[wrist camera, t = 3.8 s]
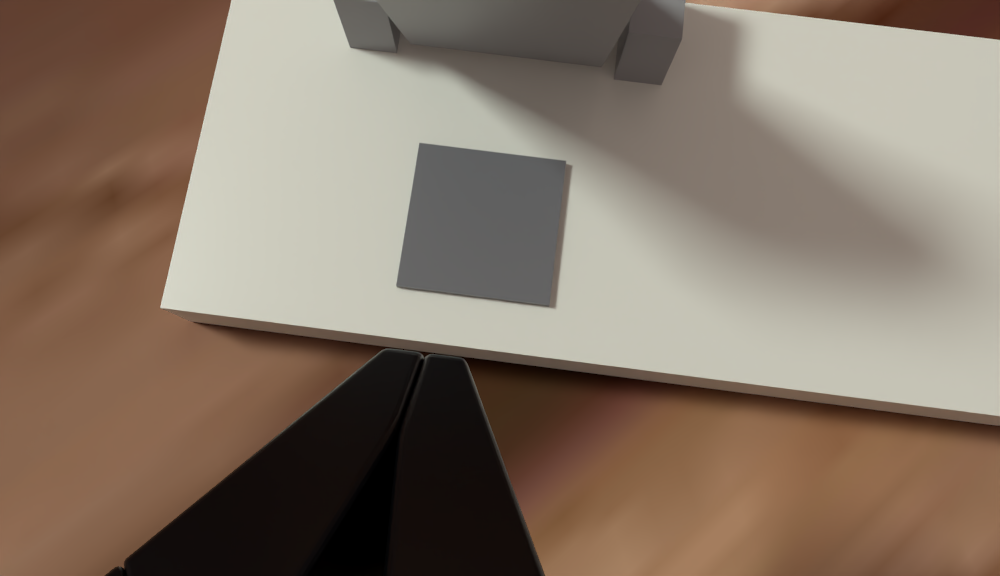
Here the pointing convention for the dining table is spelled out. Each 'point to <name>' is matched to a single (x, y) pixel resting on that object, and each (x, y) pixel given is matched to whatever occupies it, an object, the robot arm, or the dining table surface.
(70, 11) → the dining table surface
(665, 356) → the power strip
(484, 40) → the lever
